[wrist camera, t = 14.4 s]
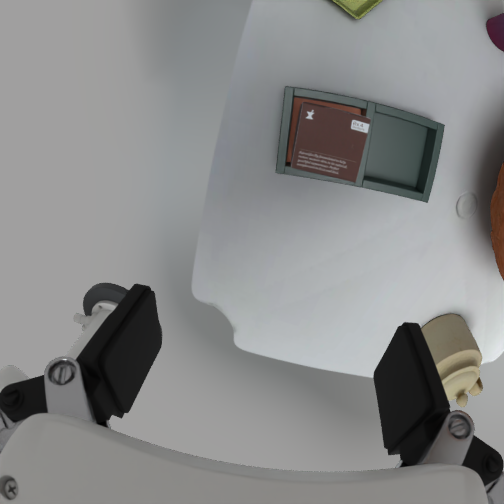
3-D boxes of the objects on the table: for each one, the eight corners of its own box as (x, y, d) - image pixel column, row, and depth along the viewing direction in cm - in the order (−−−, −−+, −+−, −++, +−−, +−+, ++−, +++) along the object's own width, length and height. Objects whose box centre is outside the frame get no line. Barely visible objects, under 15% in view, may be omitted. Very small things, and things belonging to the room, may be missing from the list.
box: (290, 155, 30) (288, 168, 23) (300, 102, 27) (301, 100, 20) (344, 167, 29) (356, 184, 23) (355, 116, 26) (372, 118, 20)
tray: (277, 166, 32) (275, 173, 29) (286, 88, 27) (285, 86, 24) (417, 194, 30) (427, 203, 27) (432, 122, 25) (444, 124, 23)
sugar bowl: (488, 312, 36) (523, 374, 23) (463, 356, 41) (486, 416, 28) (425, 312, 38) (455, 388, 25) (402, 359, 43) (418, 430, 30)
